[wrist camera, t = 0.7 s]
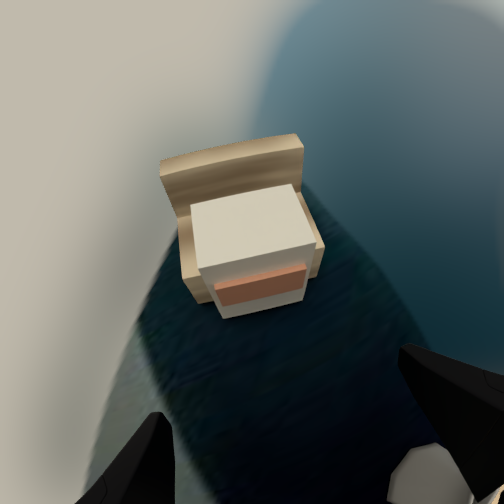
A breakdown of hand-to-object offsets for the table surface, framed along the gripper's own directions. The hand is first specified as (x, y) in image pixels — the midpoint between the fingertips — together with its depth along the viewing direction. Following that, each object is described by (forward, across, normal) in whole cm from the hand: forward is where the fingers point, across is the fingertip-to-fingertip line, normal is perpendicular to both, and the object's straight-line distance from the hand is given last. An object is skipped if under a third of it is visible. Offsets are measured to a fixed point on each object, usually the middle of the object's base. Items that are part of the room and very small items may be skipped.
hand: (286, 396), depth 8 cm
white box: (+16, 0, +3) cm, 16 cm away
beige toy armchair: (+19, 0, +2) cm, 19 cm away
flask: (-1, -10, +19) cm, 22 cm away
